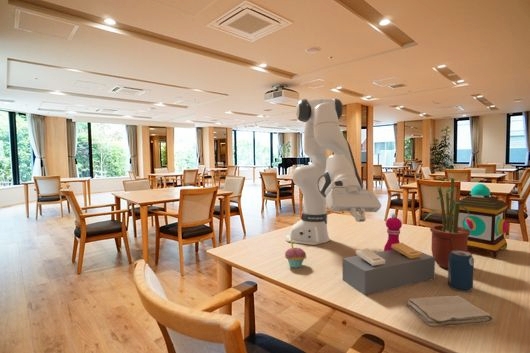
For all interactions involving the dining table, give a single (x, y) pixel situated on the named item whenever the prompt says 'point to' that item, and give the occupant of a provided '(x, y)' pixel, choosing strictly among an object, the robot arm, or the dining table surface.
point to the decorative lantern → (484, 220)
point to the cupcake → (295, 256)
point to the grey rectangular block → (387, 271)
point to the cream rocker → (370, 257)
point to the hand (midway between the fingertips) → (361, 220)
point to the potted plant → (448, 229)
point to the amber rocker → (406, 250)
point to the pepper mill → (392, 232)
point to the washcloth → (448, 311)
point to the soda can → (460, 270)
